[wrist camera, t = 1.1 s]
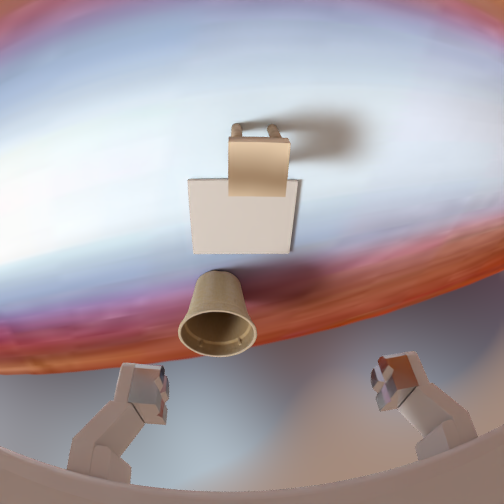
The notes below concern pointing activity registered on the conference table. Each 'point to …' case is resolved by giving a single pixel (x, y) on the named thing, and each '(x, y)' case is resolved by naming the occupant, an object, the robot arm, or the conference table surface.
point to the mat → (239, 219)
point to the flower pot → (217, 317)
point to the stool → (258, 164)
